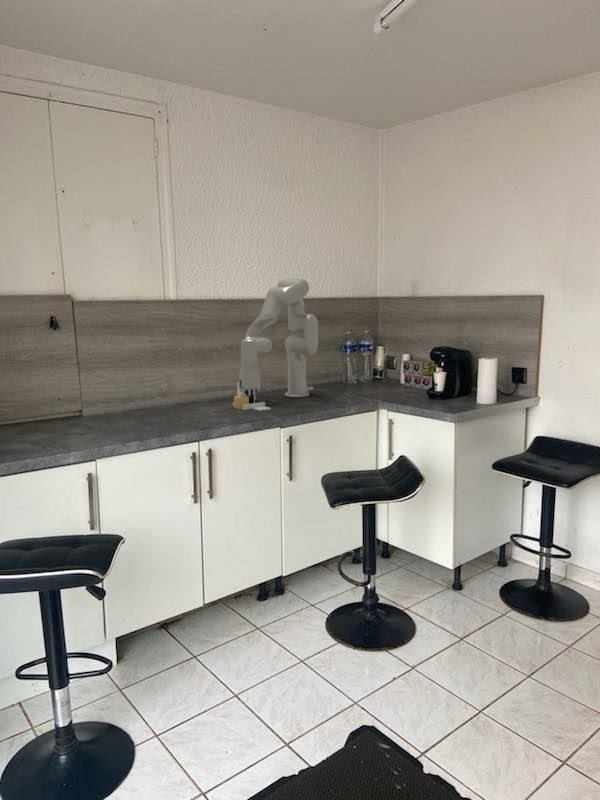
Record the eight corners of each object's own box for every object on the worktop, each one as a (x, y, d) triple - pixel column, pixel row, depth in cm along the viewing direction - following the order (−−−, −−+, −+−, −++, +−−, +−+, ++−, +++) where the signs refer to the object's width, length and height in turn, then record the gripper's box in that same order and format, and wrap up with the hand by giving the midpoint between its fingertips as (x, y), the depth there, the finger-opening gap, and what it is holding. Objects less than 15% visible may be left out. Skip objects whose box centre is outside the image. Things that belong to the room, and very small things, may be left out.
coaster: (263, 407, 272) (263, 405, 272) (271, 409, 267) (271, 408, 267) (251, 408, 268) (251, 407, 268) (259, 411, 263) (259, 409, 263)
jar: (237, 402, 284) (237, 378, 282) (237, 399, 292) (236, 376, 289) (255, 401, 285) (255, 377, 283) (255, 398, 293) (254, 375, 291)
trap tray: (267, 402, 284) (267, 399, 284) (276, 404, 278) (276, 402, 278) (255, 403, 280) (255, 401, 279) (264, 406, 274) (264, 403, 274)
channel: (254, 403, 280) (254, 399, 280) (265, 406, 273) (264, 402, 272) (232, 406, 273) (232, 402, 273) (243, 410, 266) (243, 405, 265)
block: (243, 406, 274) (242, 395, 273) (249, 407, 270) (248, 396, 269) (234, 407, 271) (233, 396, 270) (239, 409, 267) (239, 397, 266)
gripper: (258, 363, 277) (259, 400, 281) (231, 365, 268) (232, 404, 272) (267, 364, 271) (268, 402, 275) (240, 367, 262) (241, 406, 266)
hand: (250, 403), depth 273 cm, fingers closed
